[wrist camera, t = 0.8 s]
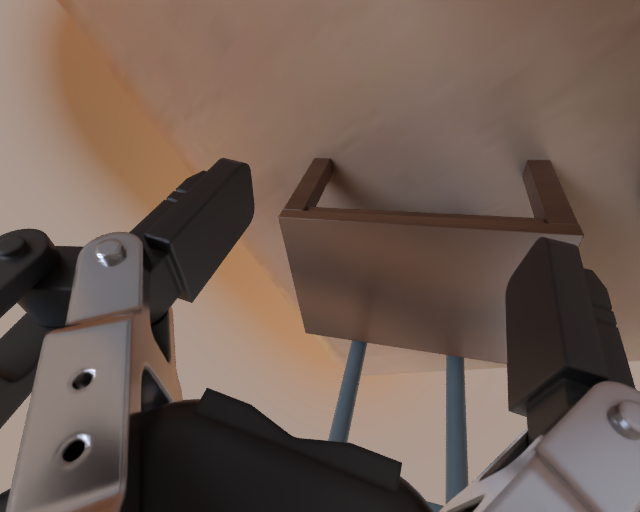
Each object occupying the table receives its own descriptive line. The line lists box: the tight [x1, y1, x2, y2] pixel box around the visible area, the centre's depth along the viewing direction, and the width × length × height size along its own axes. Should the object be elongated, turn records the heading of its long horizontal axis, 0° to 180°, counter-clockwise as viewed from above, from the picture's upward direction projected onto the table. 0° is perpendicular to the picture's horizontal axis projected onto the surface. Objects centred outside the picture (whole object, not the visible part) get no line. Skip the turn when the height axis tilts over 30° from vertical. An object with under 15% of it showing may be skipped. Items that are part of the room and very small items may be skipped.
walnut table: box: [278, 158, 584, 364], centre depth 29 cm, size 13×18×9 cm
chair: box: [328, 340, 468, 512], centre depth 27 cm, size 10×10×21 cm
